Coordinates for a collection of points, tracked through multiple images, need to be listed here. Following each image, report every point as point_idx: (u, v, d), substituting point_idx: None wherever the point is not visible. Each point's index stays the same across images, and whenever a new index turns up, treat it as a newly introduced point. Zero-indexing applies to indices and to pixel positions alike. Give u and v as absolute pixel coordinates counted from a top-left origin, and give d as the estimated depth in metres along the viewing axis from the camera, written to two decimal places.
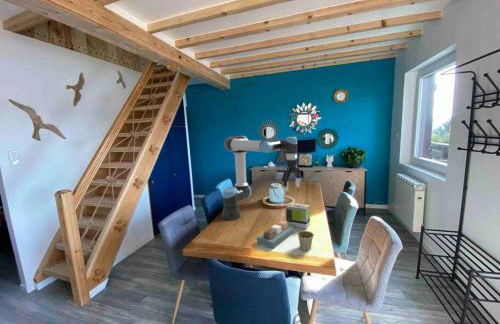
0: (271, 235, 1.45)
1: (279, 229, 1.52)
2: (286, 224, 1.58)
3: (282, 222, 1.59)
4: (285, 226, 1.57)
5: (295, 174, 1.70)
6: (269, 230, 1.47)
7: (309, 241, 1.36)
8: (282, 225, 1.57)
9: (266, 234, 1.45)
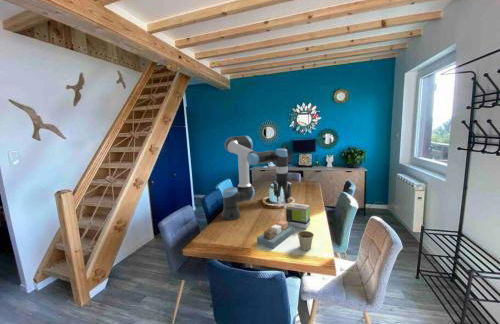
0: (271, 235, 1.45)
1: (279, 229, 1.52)
2: (286, 224, 1.58)
3: (282, 222, 1.59)
4: (285, 226, 1.57)
5: None
6: (269, 230, 1.47)
7: (309, 241, 1.36)
8: (282, 225, 1.57)
9: (266, 234, 1.45)
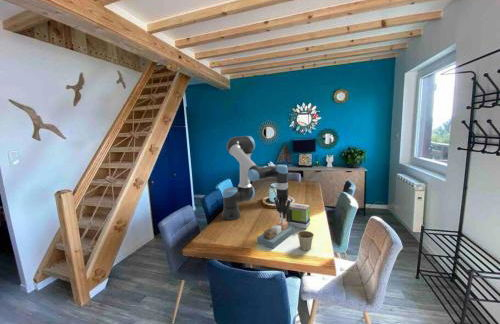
0: (271, 235, 1.45)
1: (279, 229, 1.52)
2: (286, 224, 1.58)
3: None
4: (285, 226, 1.57)
5: None
6: (269, 230, 1.47)
7: (309, 241, 1.36)
8: (282, 225, 1.57)
9: (266, 234, 1.45)
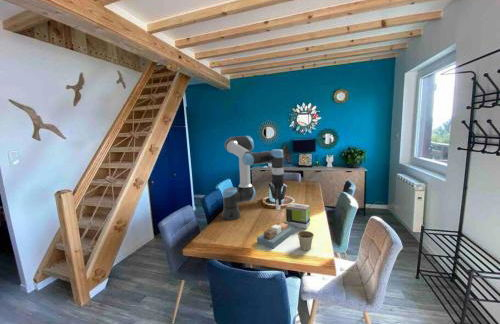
0: (271, 235, 1.45)
1: (279, 229, 1.52)
2: (286, 227, 1.59)
3: (282, 224, 1.59)
4: (285, 229, 1.58)
5: None
6: (269, 230, 1.47)
7: (309, 241, 1.36)
8: (282, 228, 1.57)
9: (266, 234, 1.45)
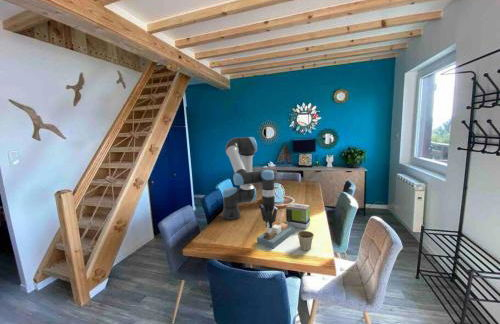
0: (271, 237, 1.45)
1: (279, 229, 1.52)
2: (286, 227, 1.59)
3: (282, 224, 1.59)
4: (285, 229, 1.58)
5: None
6: None
7: (309, 241, 1.36)
8: (282, 228, 1.57)
9: (266, 236, 1.46)
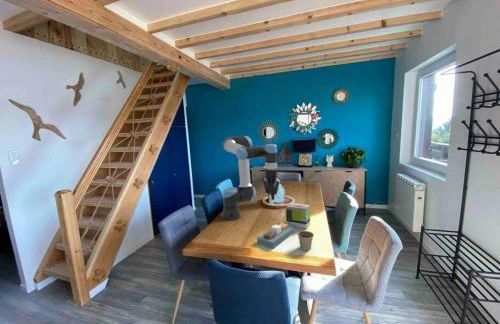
0: (271, 238, 1.45)
1: (279, 229, 1.52)
2: (286, 227, 1.59)
3: (282, 224, 1.59)
4: (285, 229, 1.58)
5: None
6: (269, 233, 1.48)
7: (309, 241, 1.36)
8: (282, 228, 1.57)
9: (266, 237, 1.46)
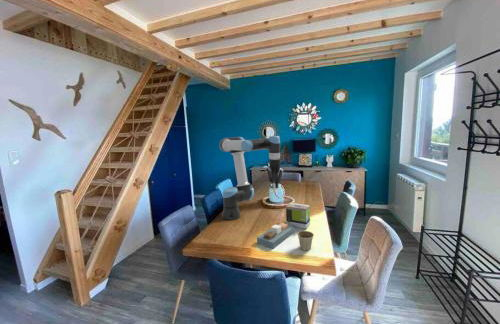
0: (271, 238, 1.45)
1: (279, 229, 1.52)
2: (286, 227, 1.59)
3: (282, 224, 1.59)
4: (285, 229, 1.58)
5: None
6: (269, 233, 1.48)
7: (309, 241, 1.36)
8: (282, 228, 1.57)
9: (266, 237, 1.46)
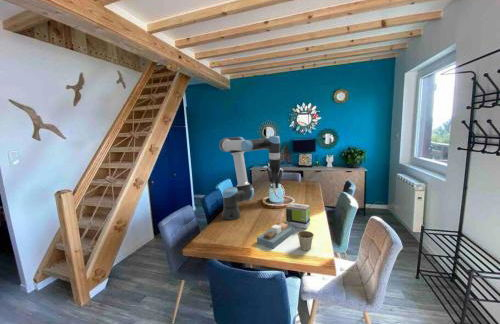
0: (271, 238, 1.45)
1: (279, 229, 1.52)
2: (286, 227, 1.59)
3: (282, 224, 1.59)
4: (285, 229, 1.58)
5: None
6: (269, 233, 1.48)
7: (309, 241, 1.36)
8: (282, 228, 1.57)
9: (266, 237, 1.46)
